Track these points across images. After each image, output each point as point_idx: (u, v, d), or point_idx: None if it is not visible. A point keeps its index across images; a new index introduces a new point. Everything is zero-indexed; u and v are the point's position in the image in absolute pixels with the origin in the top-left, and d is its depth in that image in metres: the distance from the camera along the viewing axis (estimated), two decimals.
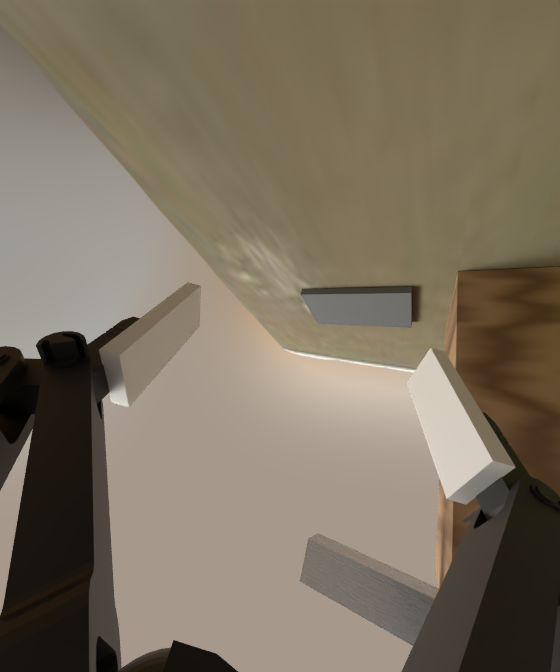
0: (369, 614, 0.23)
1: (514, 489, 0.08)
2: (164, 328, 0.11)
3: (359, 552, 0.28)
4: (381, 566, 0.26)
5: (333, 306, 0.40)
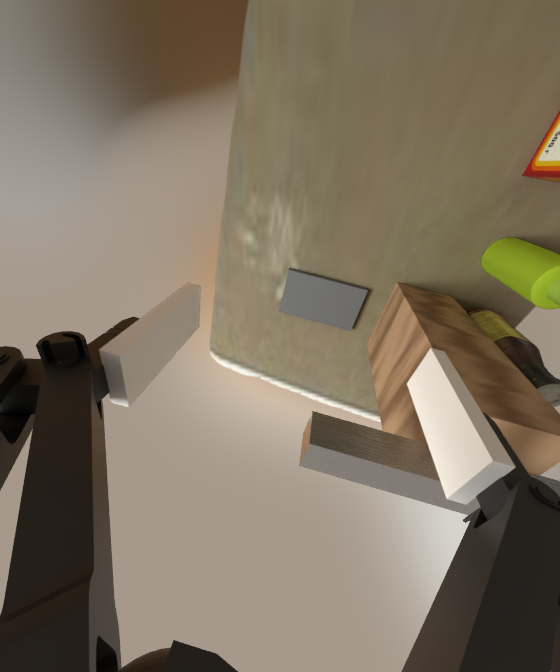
0: (384, 460, 0.22)
1: (514, 489, 0.08)
2: (164, 328, 0.11)
3: None
4: None
5: (306, 291, 0.50)
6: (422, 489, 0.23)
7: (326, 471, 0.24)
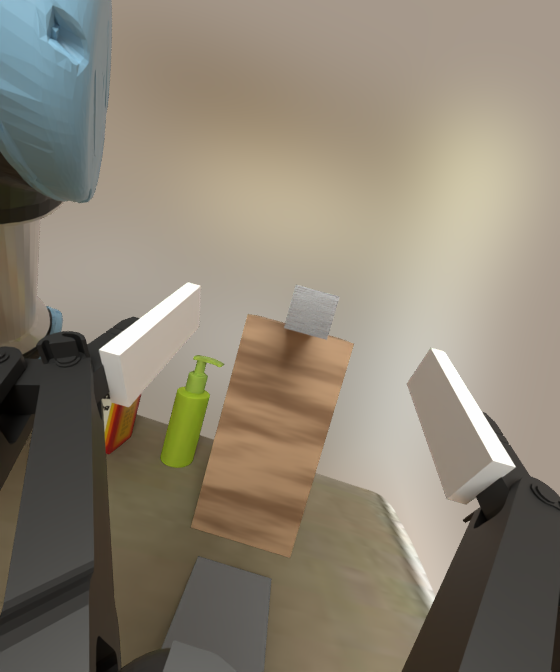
0: None
1: (514, 489, 0.08)
2: (164, 328, 0.11)
3: None
4: None
5: None
6: None
7: None
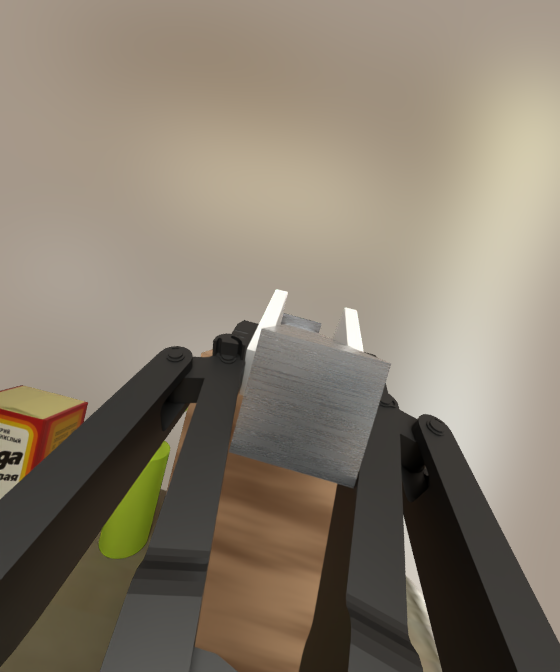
0: None
1: None
2: None
3: None
4: None
5: None
6: (305, 331, 0.18)
7: (355, 350, 0.09)
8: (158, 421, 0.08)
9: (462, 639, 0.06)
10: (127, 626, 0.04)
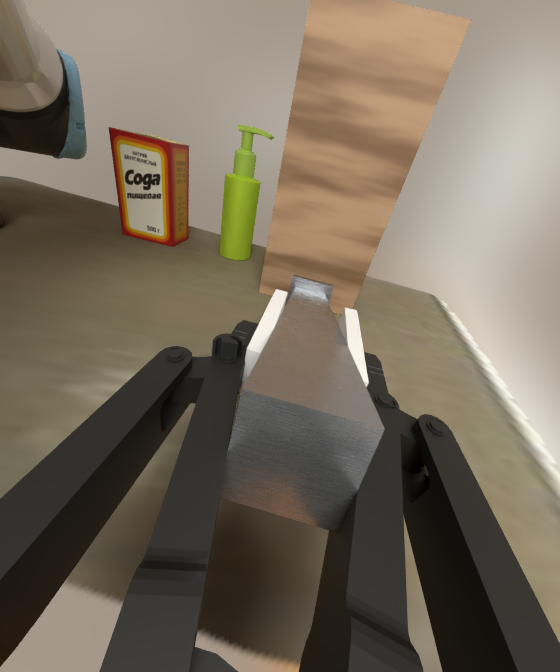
0: None
1: None
2: None
3: None
4: None
5: None
6: (310, 316, 0.17)
7: (354, 379, 0.09)
8: (158, 422, 0.08)
9: (462, 639, 0.06)
10: (127, 626, 0.04)
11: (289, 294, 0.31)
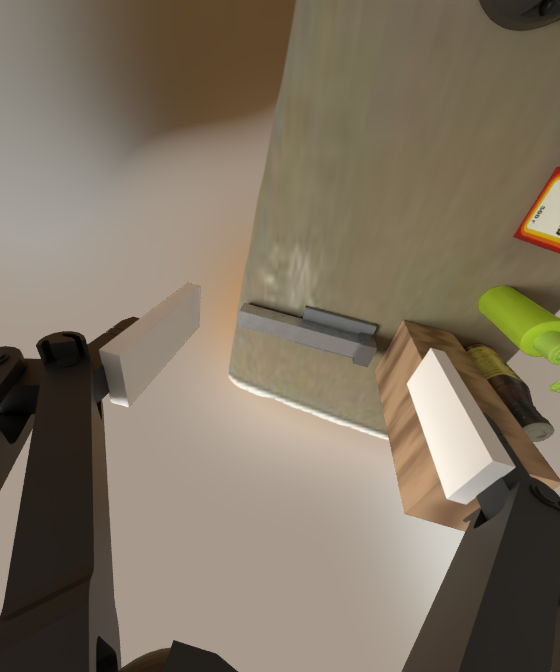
0: (271, 318, 0.52)
1: (514, 489, 0.08)
2: (164, 328, 0.11)
3: None
4: None
5: None
6: (288, 332, 0.53)
7: (249, 327, 0.54)
8: None
9: None
10: None
11: (360, 339, 0.52)
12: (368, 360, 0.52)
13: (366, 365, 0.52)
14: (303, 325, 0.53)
